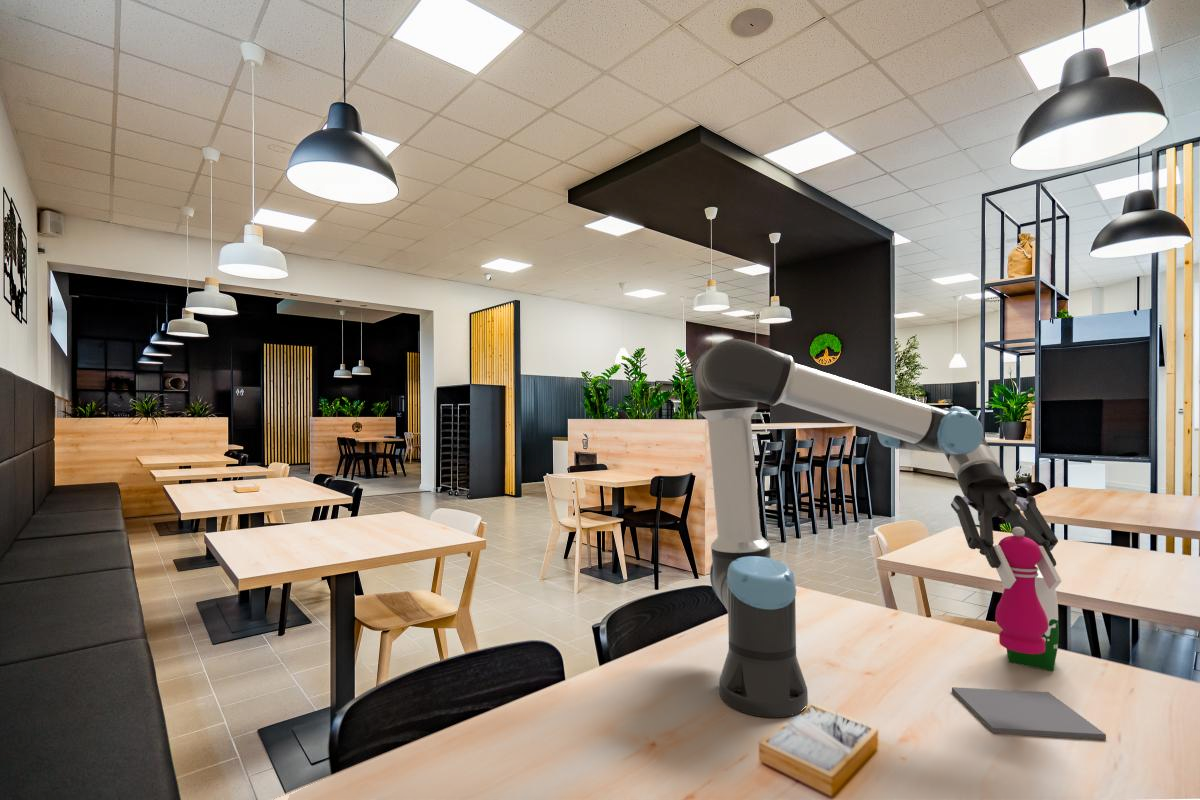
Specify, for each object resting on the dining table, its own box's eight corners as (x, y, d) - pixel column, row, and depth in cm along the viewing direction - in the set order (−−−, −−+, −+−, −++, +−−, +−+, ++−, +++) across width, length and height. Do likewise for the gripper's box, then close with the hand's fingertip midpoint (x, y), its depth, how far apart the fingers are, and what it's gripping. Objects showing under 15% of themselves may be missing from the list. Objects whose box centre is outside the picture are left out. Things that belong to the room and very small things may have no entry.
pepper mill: (1060, 655, 94) (1056, 530, 95) (1015, 655, 94) (1010, 531, 95) (1028, 638, 101) (1024, 522, 102) (986, 638, 101) (982, 523, 102)
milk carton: (1005, 649, 125) (1002, 554, 125) (1059, 659, 119) (1056, 560, 120) (1003, 662, 118) (999, 562, 118) (1060, 674, 112) (1056, 569, 113)
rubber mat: (993, 733, 92) (993, 727, 92) (951, 691, 105) (951, 687, 105) (1106, 739, 89) (1105, 734, 89) (1048, 696, 103) (1048, 691, 103)
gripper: (1024, 486, 113) (1086, 598, 96) (920, 486, 115) (962, 594, 98) (1040, 460, 107) (1109, 574, 91) (930, 460, 110) (977, 571, 93)
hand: (1032, 584), depth 95 cm, fingers closed on pepper mill, 6 cm apart
